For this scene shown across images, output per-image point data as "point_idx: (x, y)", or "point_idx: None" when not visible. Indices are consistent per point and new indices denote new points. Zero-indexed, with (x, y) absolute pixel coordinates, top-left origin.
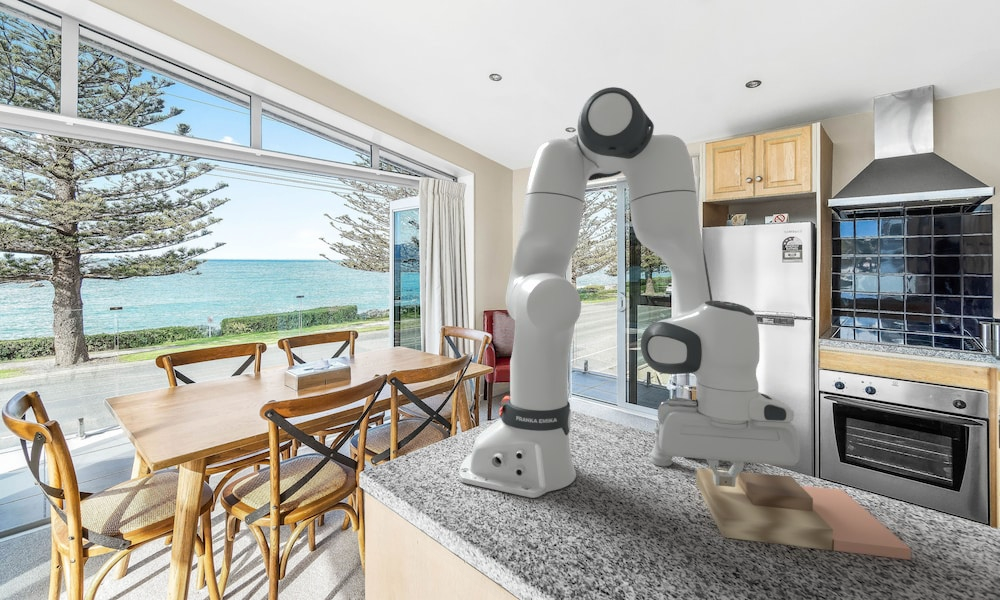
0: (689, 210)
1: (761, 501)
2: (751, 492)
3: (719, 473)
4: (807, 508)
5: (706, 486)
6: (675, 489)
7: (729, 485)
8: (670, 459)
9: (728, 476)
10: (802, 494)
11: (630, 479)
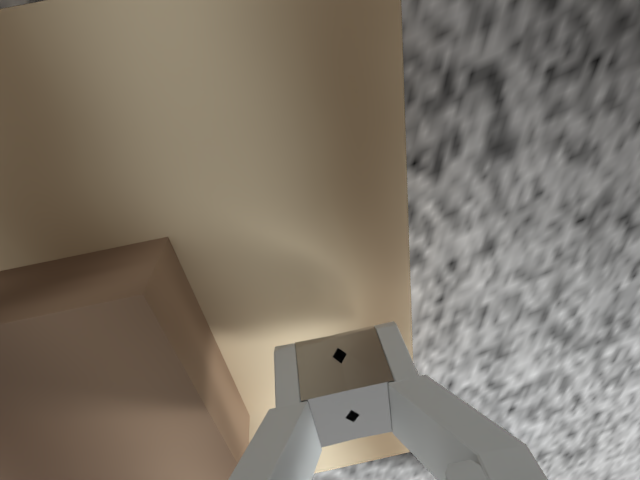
0: None
1: (107, 266)
2: (168, 314)
3: (385, 411)
4: None
5: (410, 332)
6: (483, 323)
7: (311, 342)
8: None
9: (327, 400)
10: None
11: (637, 321)
